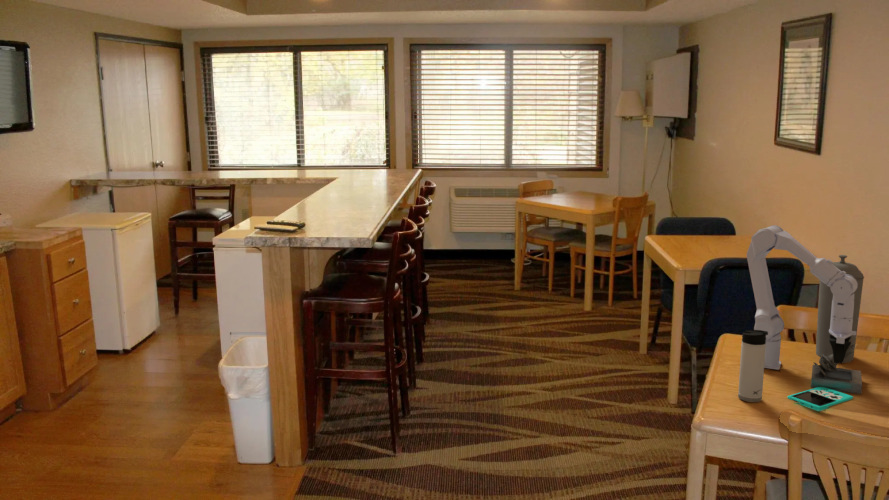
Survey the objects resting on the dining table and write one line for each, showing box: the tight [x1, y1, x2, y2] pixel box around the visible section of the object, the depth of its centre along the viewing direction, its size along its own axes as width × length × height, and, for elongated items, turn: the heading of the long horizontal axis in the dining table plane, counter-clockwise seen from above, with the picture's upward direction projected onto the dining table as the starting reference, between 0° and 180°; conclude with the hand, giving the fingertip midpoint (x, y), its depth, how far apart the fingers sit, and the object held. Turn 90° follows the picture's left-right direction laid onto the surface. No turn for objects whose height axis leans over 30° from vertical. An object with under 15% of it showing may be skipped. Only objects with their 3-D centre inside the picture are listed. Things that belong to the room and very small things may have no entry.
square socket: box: [810, 364, 863, 395], centre depth 216 cm, size 13×13×3 cm
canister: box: [815, 254, 865, 364], centre depth 235 cm, size 13×13×35 cm
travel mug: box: [737, 329, 768, 403], centre depth 204 cm, size 6×7×20 cm
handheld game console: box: [787, 387, 854, 412], centre depth 205 cm, size 10×16×1 cm, turn 120°
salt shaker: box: [813, 345, 854, 377], centre depth 215 cm, size 6×6×12 cm
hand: (838, 360), depth 215 cm, fingers closed on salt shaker, 4 cm apart
